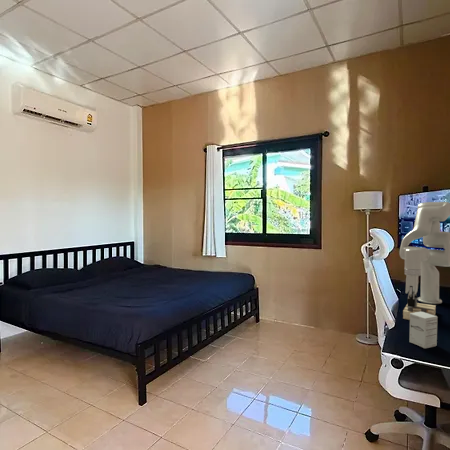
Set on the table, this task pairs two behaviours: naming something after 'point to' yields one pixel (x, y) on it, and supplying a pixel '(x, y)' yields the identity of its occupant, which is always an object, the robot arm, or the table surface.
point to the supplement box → (423, 329)
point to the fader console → (419, 310)
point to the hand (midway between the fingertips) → (412, 304)
